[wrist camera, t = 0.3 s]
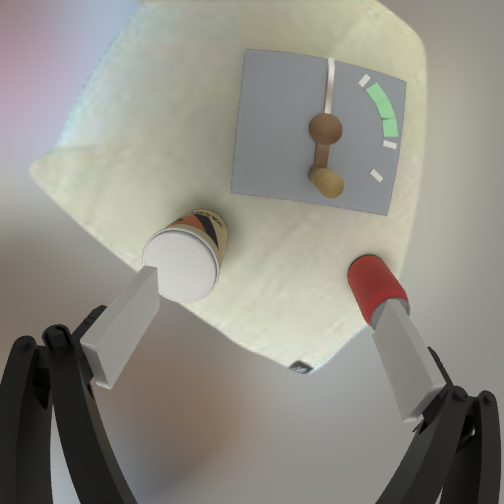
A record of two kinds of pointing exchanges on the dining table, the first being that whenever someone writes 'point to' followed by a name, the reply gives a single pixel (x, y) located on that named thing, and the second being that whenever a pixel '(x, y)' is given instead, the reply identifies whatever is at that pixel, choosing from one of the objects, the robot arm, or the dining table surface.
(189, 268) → the coffee cup
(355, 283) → the beer can
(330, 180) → the peg dial
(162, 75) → the dining table surface
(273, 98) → the board
